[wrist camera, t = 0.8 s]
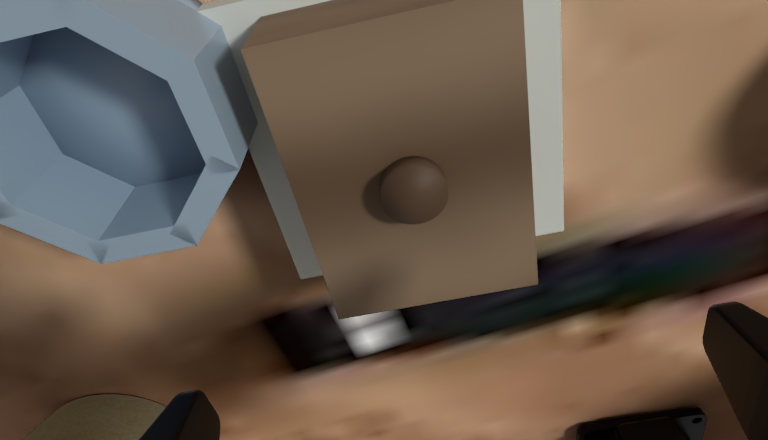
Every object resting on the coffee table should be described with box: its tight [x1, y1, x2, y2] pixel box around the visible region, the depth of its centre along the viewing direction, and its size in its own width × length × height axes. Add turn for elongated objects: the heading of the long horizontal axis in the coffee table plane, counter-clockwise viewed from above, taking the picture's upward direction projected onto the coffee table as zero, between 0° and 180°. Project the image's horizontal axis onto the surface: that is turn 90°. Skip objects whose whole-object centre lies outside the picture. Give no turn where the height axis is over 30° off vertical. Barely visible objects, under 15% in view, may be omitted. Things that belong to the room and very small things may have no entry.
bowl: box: [0, 0, 258, 264], centre depth 15 cm, size 7×7×4 cm
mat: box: [196, 0, 564, 279], centre depth 17 cm, size 10×10×1 cm
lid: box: [241, 0, 538, 319], centre depth 15 cm, size 9×6×4 cm
